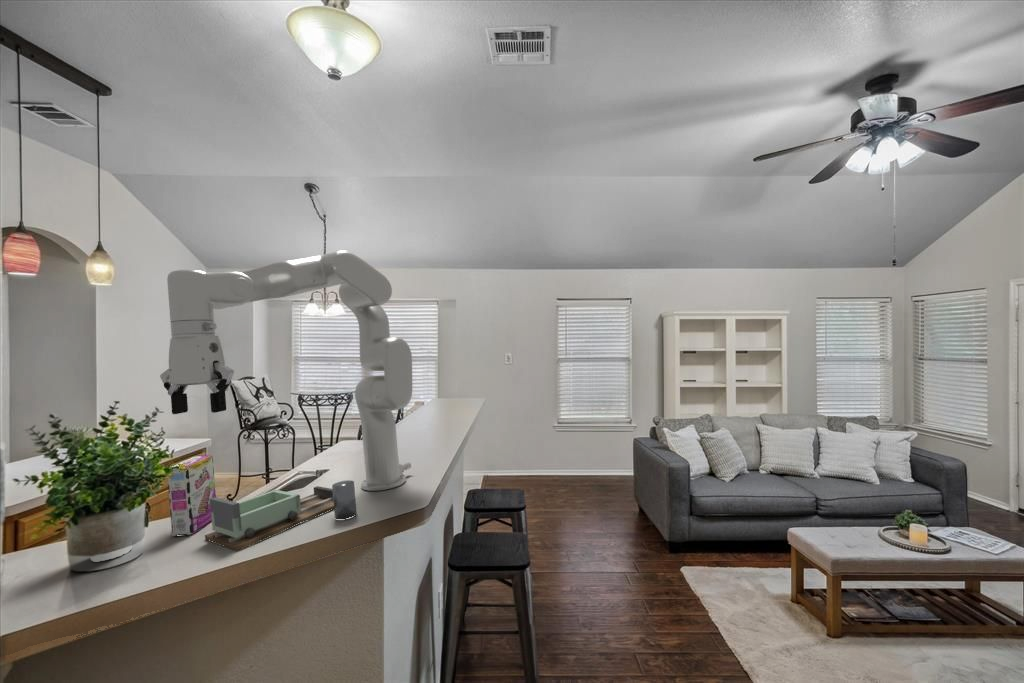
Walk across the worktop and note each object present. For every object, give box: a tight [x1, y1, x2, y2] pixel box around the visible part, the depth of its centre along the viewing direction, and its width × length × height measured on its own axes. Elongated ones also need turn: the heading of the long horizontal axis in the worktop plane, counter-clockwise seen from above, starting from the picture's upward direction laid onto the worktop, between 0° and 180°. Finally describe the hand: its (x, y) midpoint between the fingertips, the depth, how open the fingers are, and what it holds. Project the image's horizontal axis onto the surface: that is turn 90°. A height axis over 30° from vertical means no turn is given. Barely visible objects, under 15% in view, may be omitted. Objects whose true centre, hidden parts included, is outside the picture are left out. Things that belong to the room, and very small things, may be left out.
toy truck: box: [210, 489, 301, 538], centre depth 110 cm, size 15×12×8 cm
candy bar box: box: [167, 454, 217, 537], centre depth 115 cm, size 11×5×16 cm, turn 5°
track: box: [204, 485, 334, 552], centre depth 114 cm, size 28×14×3 cm, turn 147°
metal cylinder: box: [331, 480, 358, 519], centre depth 113 cm, size 5×5×8 cm
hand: (199, 412), depth 97 cm, fingers open, 9 cm apart
